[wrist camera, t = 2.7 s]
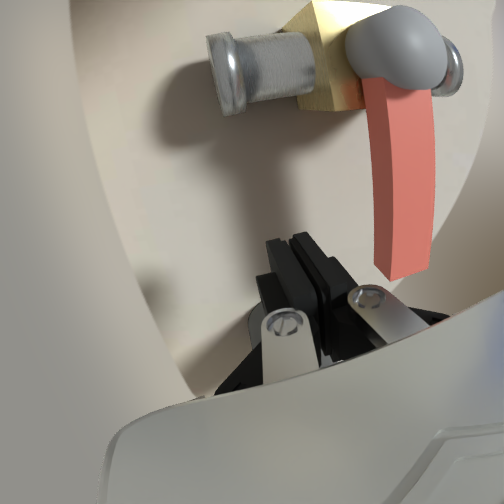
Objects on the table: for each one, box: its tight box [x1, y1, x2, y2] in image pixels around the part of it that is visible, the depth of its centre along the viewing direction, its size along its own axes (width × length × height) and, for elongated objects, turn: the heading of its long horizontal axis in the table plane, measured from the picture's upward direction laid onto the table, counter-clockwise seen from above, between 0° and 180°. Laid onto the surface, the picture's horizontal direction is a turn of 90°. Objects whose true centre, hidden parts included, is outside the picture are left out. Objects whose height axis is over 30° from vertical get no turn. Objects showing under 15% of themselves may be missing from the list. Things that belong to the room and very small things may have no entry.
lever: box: [345, 5, 448, 282], centre depth 12 cm, size 14×4×3 cm, turn 11°
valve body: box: [206, 1, 463, 117], centre depth 14 cm, size 6×16×6 cm, turn 101°
